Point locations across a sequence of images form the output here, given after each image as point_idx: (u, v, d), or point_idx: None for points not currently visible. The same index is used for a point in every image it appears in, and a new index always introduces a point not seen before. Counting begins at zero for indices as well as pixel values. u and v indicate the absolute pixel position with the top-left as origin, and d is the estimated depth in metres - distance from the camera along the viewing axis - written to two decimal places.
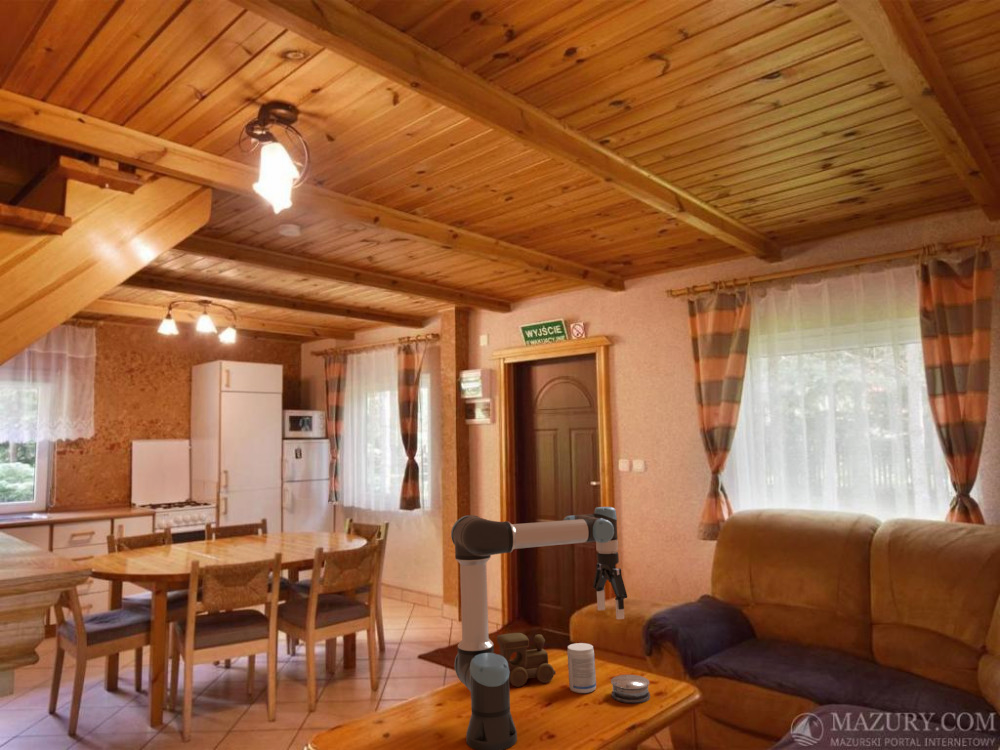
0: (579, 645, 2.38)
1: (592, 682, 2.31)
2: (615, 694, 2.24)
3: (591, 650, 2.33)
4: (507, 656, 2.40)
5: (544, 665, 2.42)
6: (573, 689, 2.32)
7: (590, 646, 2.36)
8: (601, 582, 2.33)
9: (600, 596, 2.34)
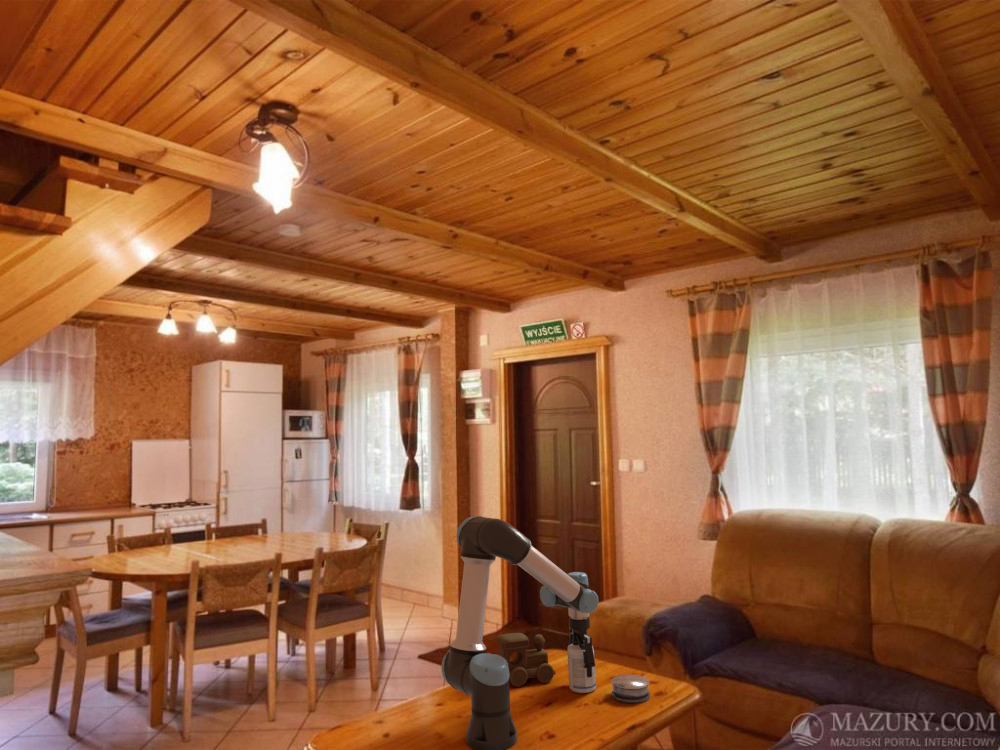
0: None
1: None
2: (615, 694, 2.24)
3: None
4: (507, 656, 2.40)
5: (544, 665, 2.42)
6: (573, 689, 2.32)
7: None
8: None
9: None
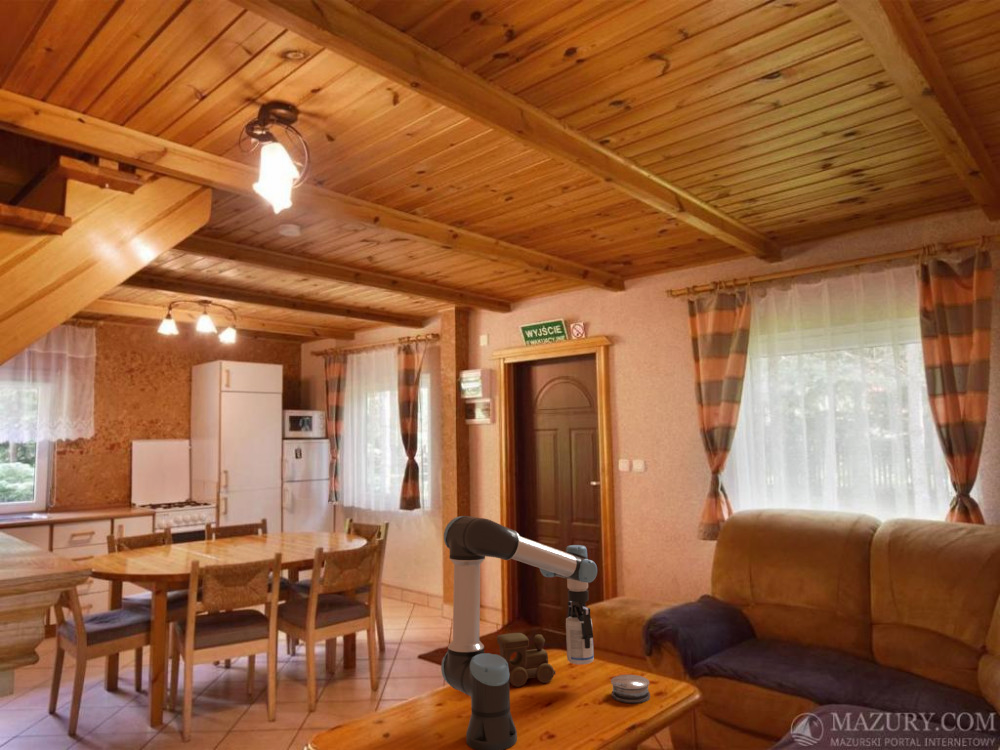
0: None
1: (590, 654, 2.32)
2: (615, 694, 2.24)
3: None
4: (507, 656, 2.40)
5: (544, 665, 2.42)
6: (571, 660, 2.33)
7: None
8: None
9: None
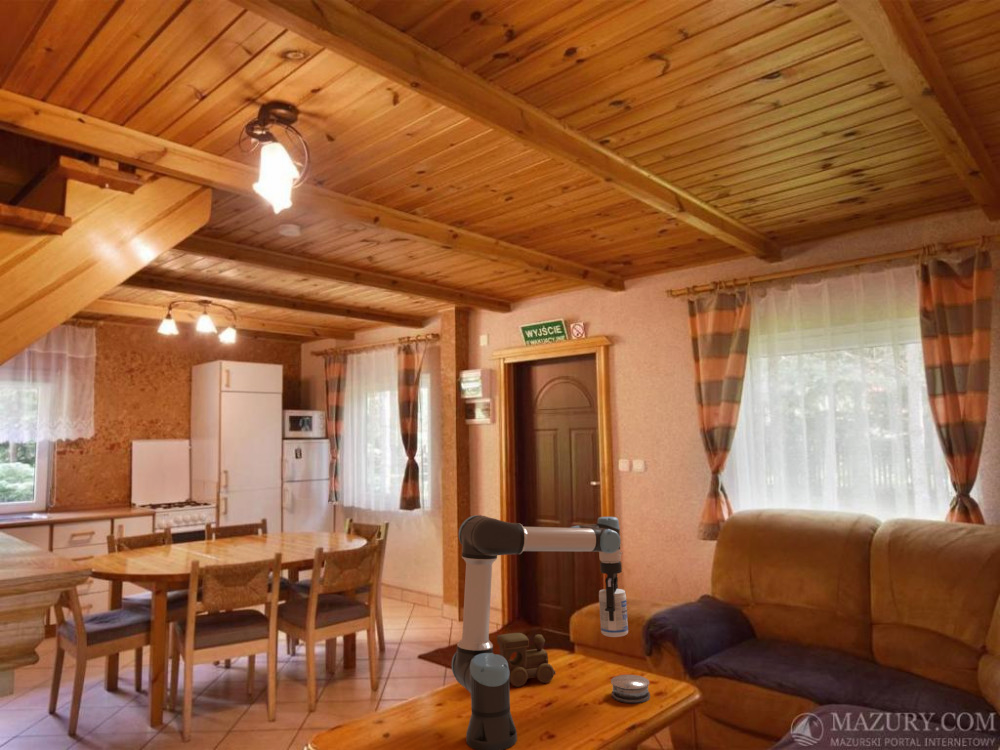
0: None
1: (618, 627, 2.27)
2: (615, 694, 2.24)
3: (618, 595, 2.28)
4: (507, 656, 2.40)
5: (544, 665, 2.42)
6: (601, 631, 2.31)
7: (621, 592, 2.30)
8: None
9: None
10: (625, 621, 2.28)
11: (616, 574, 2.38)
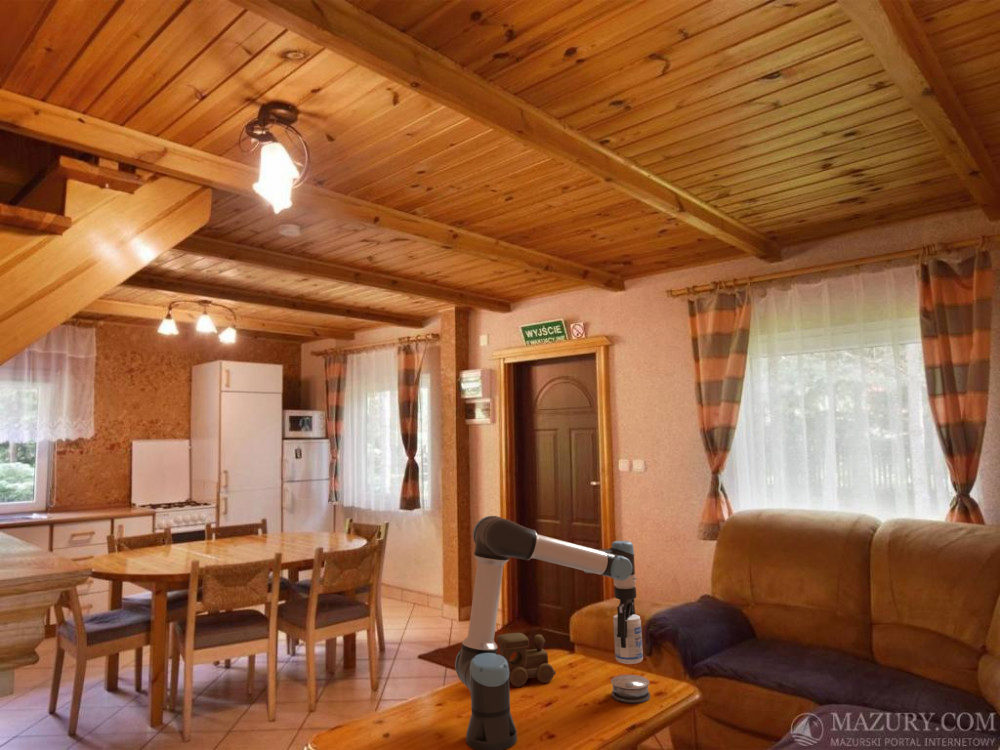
0: None
1: (631, 654, 2.23)
2: (615, 694, 2.24)
3: (631, 621, 2.25)
4: (507, 656, 2.40)
5: (544, 665, 2.42)
6: (615, 657, 2.28)
7: (634, 618, 2.27)
8: None
9: None
10: (639, 648, 2.25)
11: (633, 599, 2.34)
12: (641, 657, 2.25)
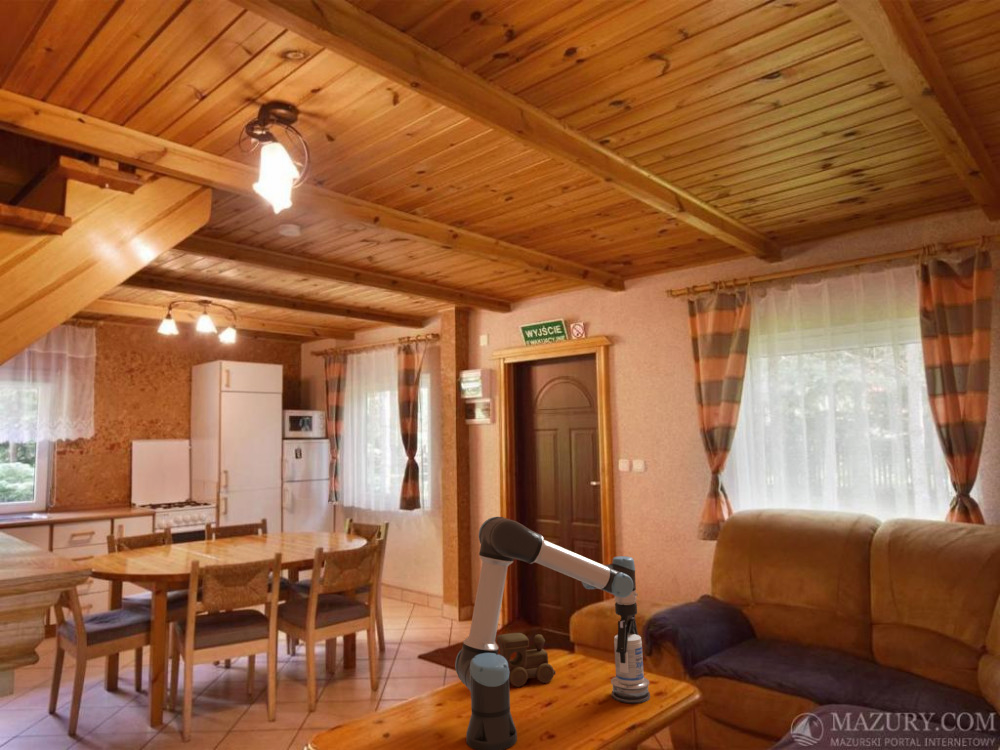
0: (629, 636, 2.30)
1: (631, 675, 2.23)
2: (615, 694, 2.24)
3: (631, 642, 2.24)
4: (507, 656, 2.40)
5: (544, 665, 2.42)
6: (616, 677, 2.28)
7: (635, 639, 2.26)
8: None
9: None
10: (639, 669, 2.24)
11: None
12: (642, 678, 2.24)
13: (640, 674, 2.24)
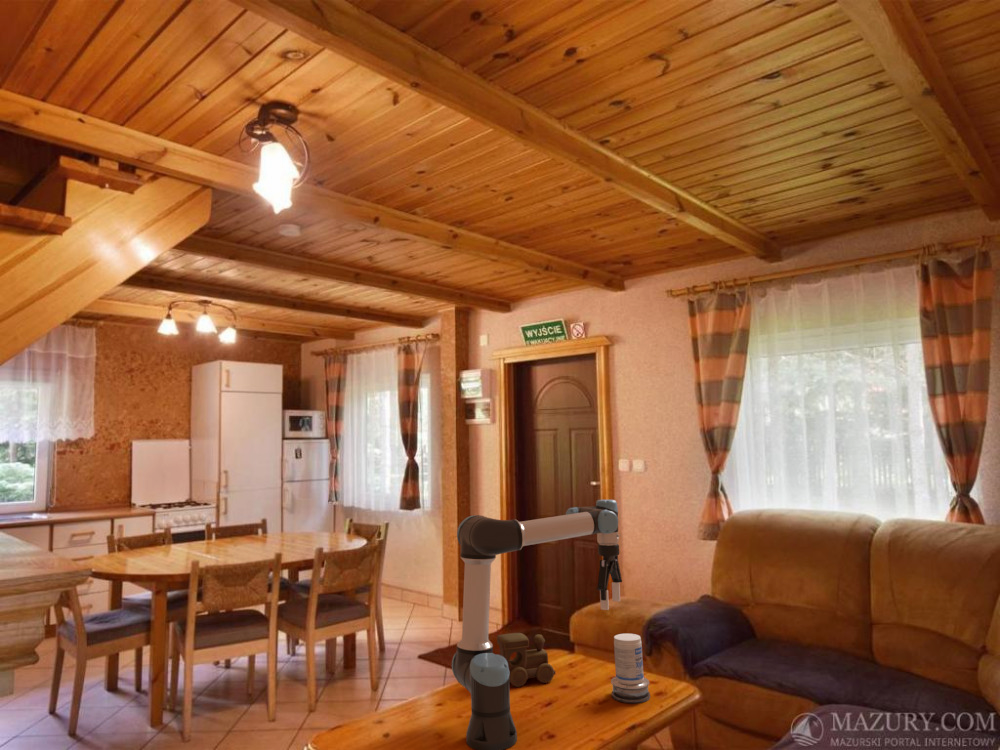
0: (629, 635, 2.30)
1: (631, 675, 2.23)
2: (615, 694, 2.24)
3: (631, 642, 2.24)
4: (507, 656, 2.40)
5: (544, 665, 2.42)
6: (616, 677, 2.28)
7: (635, 638, 2.26)
8: (611, 573, 2.37)
9: (614, 587, 2.38)
10: (639, 669, 2.24)
11: (616, 556, 2.38)
12: (642, 678, 2.24)
13: (640, 674, 2.24)
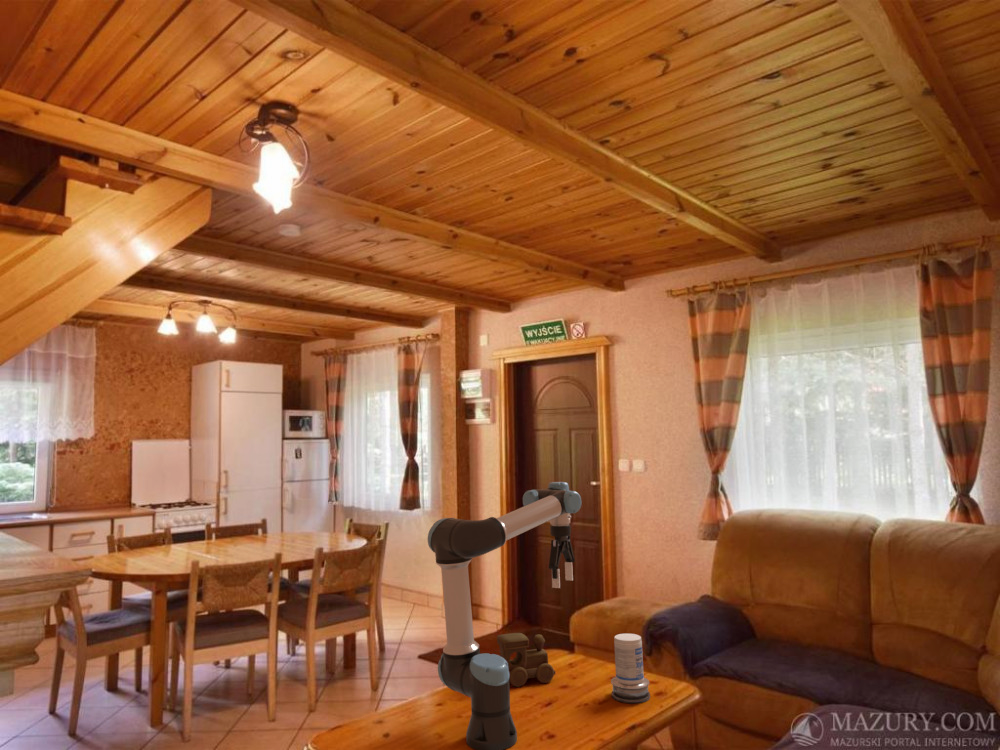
0: (629, 636, 2.30)
1: (631, 675, 2.23)
2: (615, 694, 2.24)
3: (631, 642, 2.24)
4: (507, 656, 2.40)
5: (544, 665, 2.42)
6: (616, 677, 2.28)
7: (635, 639, 2.26)
8: (564, 553, 2.44)
9: (567, 566, 2.45)
10: (639, 669, 2.24)
11: (569, 536, 2.45)
12: (642, 678, 2.24)
13: (640, 674, 2.24)
